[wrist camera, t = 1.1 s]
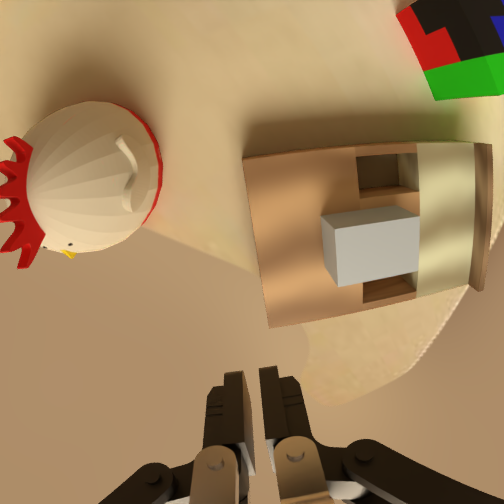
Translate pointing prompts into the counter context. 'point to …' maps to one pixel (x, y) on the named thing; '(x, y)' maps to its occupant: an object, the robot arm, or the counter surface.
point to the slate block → (370, 244)
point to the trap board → (352, 199)
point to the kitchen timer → (80, 180)
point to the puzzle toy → (458, 45)
